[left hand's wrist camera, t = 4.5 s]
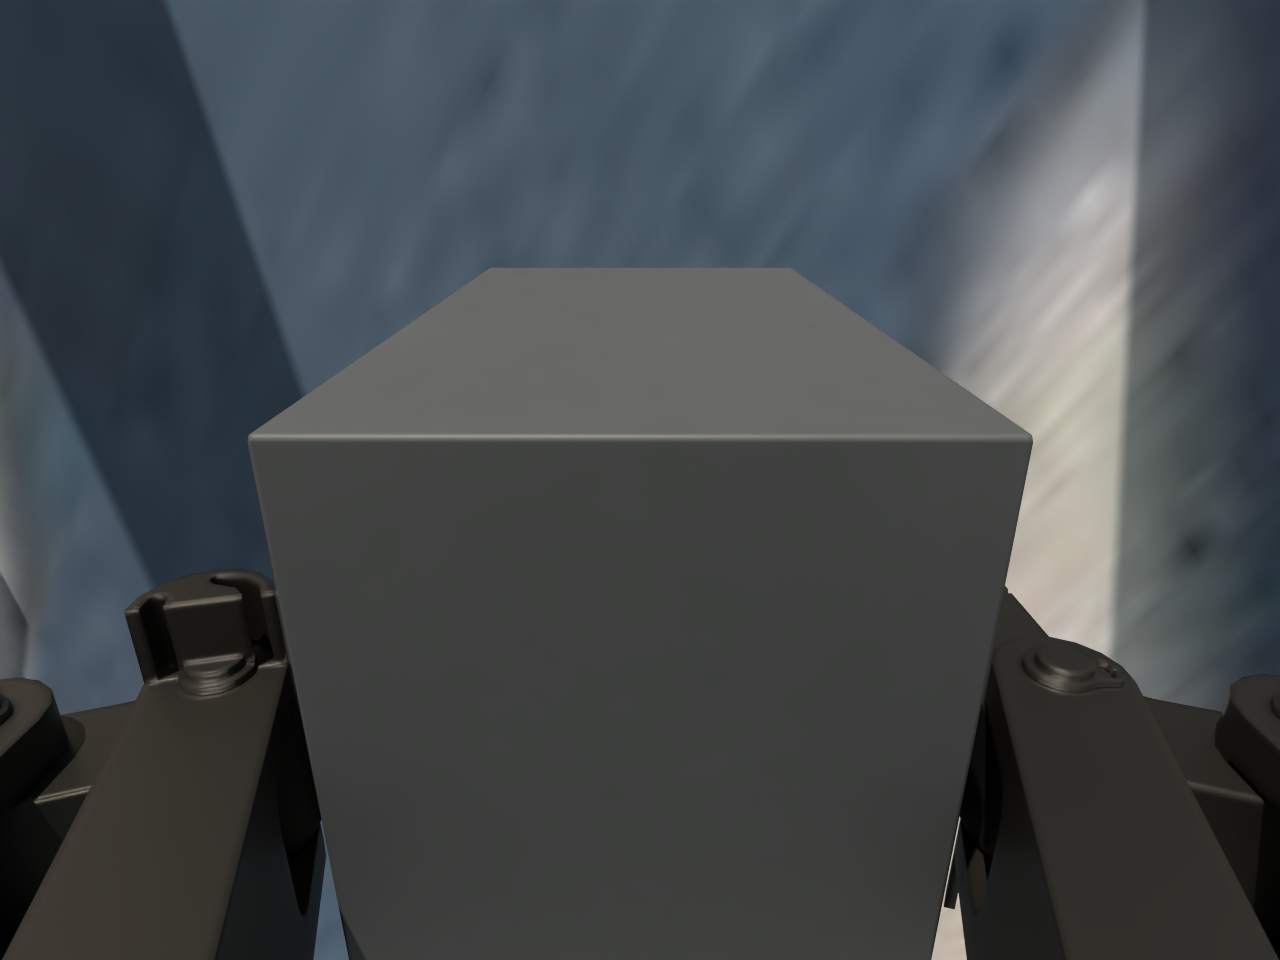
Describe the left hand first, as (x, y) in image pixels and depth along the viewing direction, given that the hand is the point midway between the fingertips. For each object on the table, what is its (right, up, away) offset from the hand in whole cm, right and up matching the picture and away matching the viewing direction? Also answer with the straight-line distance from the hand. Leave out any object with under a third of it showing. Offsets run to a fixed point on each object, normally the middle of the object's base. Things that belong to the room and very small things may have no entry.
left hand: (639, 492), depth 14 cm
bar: (0, -6, +3) cm, 7 cm away
